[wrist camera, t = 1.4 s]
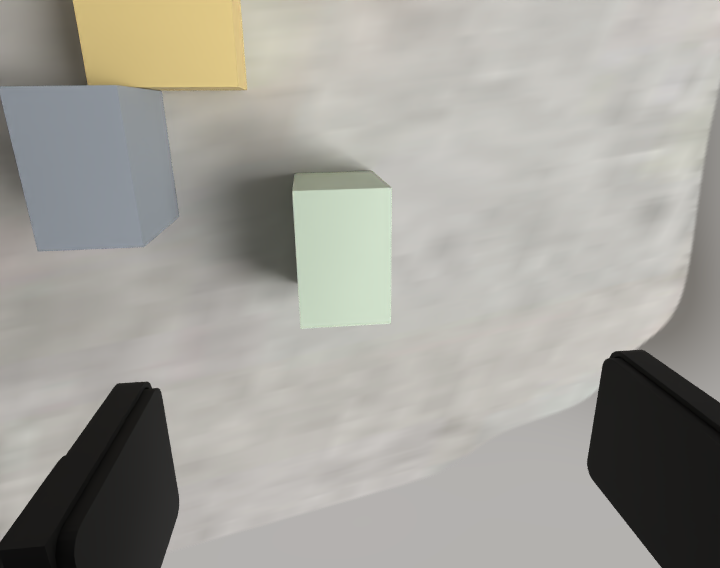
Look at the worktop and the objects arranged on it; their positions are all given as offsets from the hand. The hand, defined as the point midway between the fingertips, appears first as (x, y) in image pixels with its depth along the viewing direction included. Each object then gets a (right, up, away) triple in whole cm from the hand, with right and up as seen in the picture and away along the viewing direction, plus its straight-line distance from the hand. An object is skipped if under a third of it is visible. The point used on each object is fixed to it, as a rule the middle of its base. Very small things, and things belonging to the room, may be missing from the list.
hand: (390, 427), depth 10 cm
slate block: (-12, +9, +14) cm, 20 cm away
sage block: (-2, +6, +16) cm, 17 cm away
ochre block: (-9, +16, +12) cm, 22 cm away
